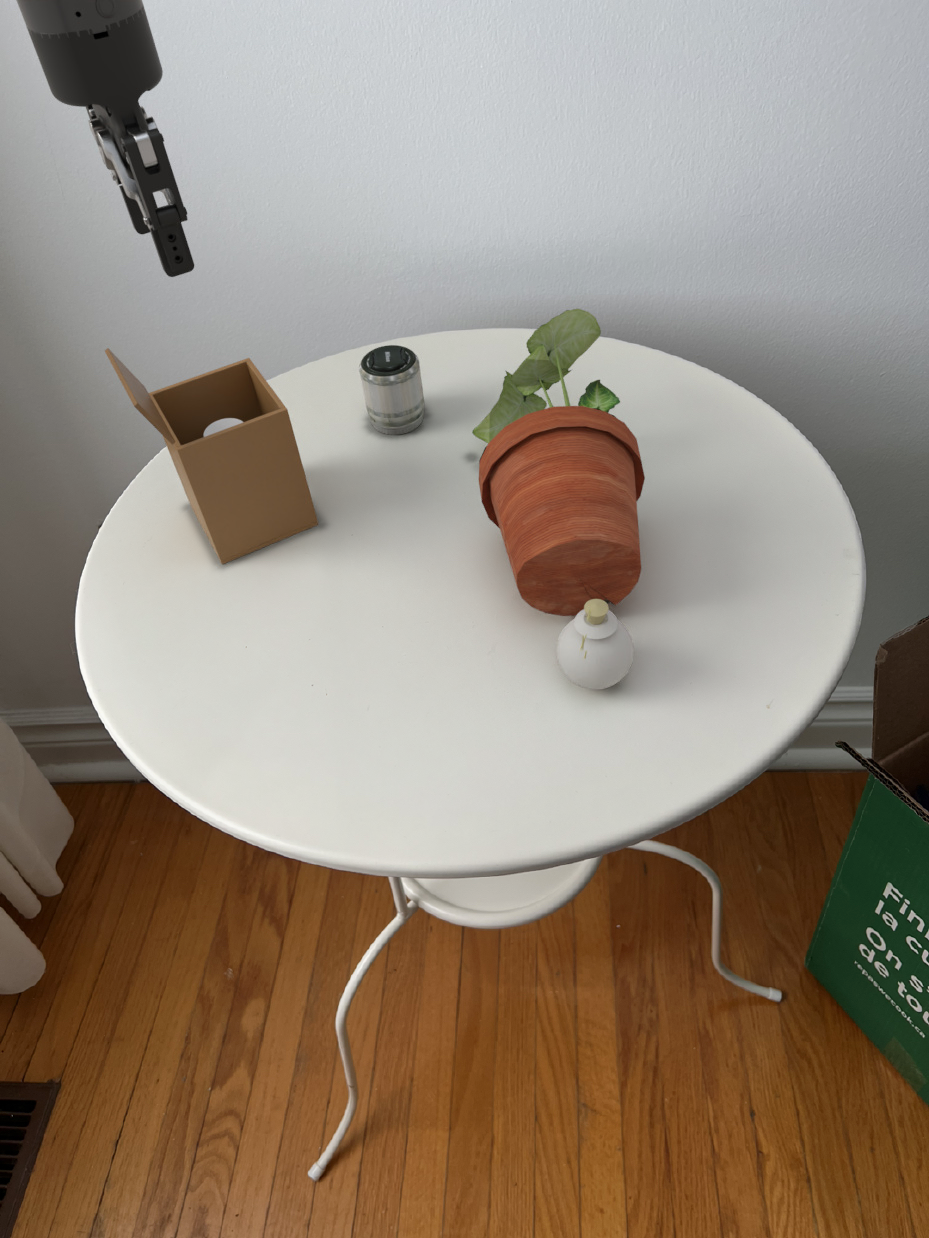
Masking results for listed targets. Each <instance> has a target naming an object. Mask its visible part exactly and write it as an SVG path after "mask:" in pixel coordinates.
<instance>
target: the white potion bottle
mask: <svg viewBox="0 0 929 1238" xmlns="http://www.w3.org/2000/svg"><path fill="white" fill-rule="evenodd" d="M555 652H556V660H557V663H558V666H559V668H560V670H561V672H562V673H563V675H564V676H565V677H566V678H567V679H568V681H570V682H572V684H574V685H576V686H578V687H581V688H584V689H587V690H604V689H608V688H610V687H612V686H615V684H618V683H619V682H620V681H622V680H623V679H624V678H625V677H626V676H627V674H628V672H629V671H630V669H631V667H632V665H633V662H634V656H635V647H634V642H633V637H632V635H631V633H630V632H629V630H628V629H627V627H626V626H625V625H624V624H623V623H622V622H621V621H620V620H619V619H618V617H617V616H616V615H615V613H613V611H612V610H610V608H609V604H607V603H606V602H605V601H603V600H601V599H591V600H589V601H587V602H586V604H585V605H584V609H583V610H582V611H580V612H579V613H578V614H577V615H576V616H575V617H574V618H573V619H571V620H570V621H569V622H568V623H567V624H566V625H565V626H564V627H563V628H562V630H561V632H560V633H559V635H558V638H557V642H556V650H555Z"/></svg>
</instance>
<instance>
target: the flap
mask: <svg viewBox="0 0 929 1238" xmlns="http://www.w3.org/2000/svg"><path fill="white" fill-rule="evenodd" d="M104 352H105V355H106V357H107V358H108V360H109V362H110V364H111V365H112V368H113V369H114V371H115V373H116V375H117V377H118V379H119V381H120V383H121V385H122V386H123V389H124V390H125V392H126V394H127V396H128V398H129V400H130V401H131V403H132V405H133V407H134V408H135V409H136V410H137V411H138V412H139V413H140V414H141V415H142V416H143V417H144V418H145V420H146V421H148V422H149V424H151V426H153V428H155V429H156V430H157V431H158V432H159V433H160V434H161V436H162V435H163V436H164V437H165V438H166V439H167V440H168V441H169V442H170V443H171V444H172V445H173V444H174V443H175V440H174V438H173V436H172V434H171V433H170V431H169V429H168V427H167V426H166V424H165V422H164V420H163V418H162V417H161V415H160V413H159V411H158V409H157V408H156V406H155V404H154V402H153V401H152V399H151V397H150V395H149V393H150V392H149V391H148V390H147V388H146V386H145V385H144V383H142V382H141V381H140V380H139V379H138V378H137V377H136V376H135V375H134V374H133V372H131V370H130V369H129V368H128V367H127V366H126V365H125V364H124V363H123V362H122V361H121V360H120V358H118V356H116V354H115V353H114V352H113V351H112V350H110V348H109V347H107V348H106V349H105V350H104ZM163 436H162V437H163Z"/></svg>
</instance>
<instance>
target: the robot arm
mask: <svg viewBox="0 0 929 1238" xmlns="http://www.w3.org/2000/svg"><path fill="white" fill-rule="evenodd" d="M16 3H17V5H18V8H19V10H20V13H21V16H22V18H23V21H24V23H25V26H26V29H27V32H28V34H29V37H30V40H31V43H32V46H33V48H34V51H35V54H36V56H37V57H38V61H39V64H40V66H41V69H42V71H43V75H44V76H45V79H46V81H47V84H48V87H49V89H50V92H51V94H52V96H53V97H54V99H56V100H57V101H58V102H60V103H61V104H64V105H67V106H71V107H79V108H83V107H84V108H85V109H86V113H87V115H88V118H89V120H87V121H88V125H89V130H90V132H91V135H92V136H93V139H94V141H95V143H96V145H97V147H98V151H99V154H100V156H101V159H102V161H103V164H104V165H105V168H106V169H107V170H109V171H110V172H111V173H110V176H111V179H112V181H113V182H115V184H116V185H117V186H119V190H120V193H121V196H122V199H123V201H124V204H125V206H126V209H127V212H128V215H129V218H130V221H131V224H132V226H133V229H134V230H135V232H136V233H137V234H139V235H145V234H150V236H151V238H152V241H153V244H154V246H155V247H154V248H155V250H156V252H157V255H158V258H159V261H160V264H161V268H162V270H163V271H164V273H165V274H166V275H167V276H168V277H169V278H175V277H177V276H182V275H185V274H187V273H190V272H192V271H193V270H194V269H195V262H194V258H193V255H192V253H191V249H190V246H189V243H188V240H187V237H186V233H185V230H184V228H183V222H187V221H188V220H189V219H188V211H187V208H186V206H185V205H184V203H183V200H182V196H181V193H180V190H179V186H178V184H177V181H176V178H175V174H174V171H173V169H172V165H171V162H170V159H169V156H168V153H167V149H166V146H165V143H164V142H165V138H164V135H163V134H162V133H161V132H160V130H159V128H158V126H157V124H156V121H155V119H154V117H153V116H148V114H147V111H146V110H145V108H144V106H142V105H140V102H139V100H140V98H141V97H142V96H143V94H145V93H146V92H150V91H152V90H153V89H155V88H156V87H157V86H158V85H159V84H160V83H161V81H162V78H163V75H164V74H163V73H164V72H163V67H162V64H161V60H160V56H159V53H158V50H157V47H156V43H155V39H154V36H153V33H152V30H151V26H150V23H149V20H148V15H147V12H146V9H145V6H144V2H143V0H16ZM157 192H161V193H162V194H163V195H164V198H165V200H166V202H167V204H166V205H162V206H158V205H157V201H156V198H155V195H154V193H157Z"/></svg>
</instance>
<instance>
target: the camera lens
mask: <svg viewBox="0 0 929 1238" xmlns="http://www.w3.org/2000/svg"><path fill="white" fill-rule="evenodd" d="M358 372H359V377H360V381H361V386H362V392H363V396H364V401H365V407H366V411H367V414H368V417H369V418H368V419H369V421H370V424H371V426H372V427H374V429H375V430H376V431H378V432H379V433H381V434H385V435H390V436H392V435H393V436H395V435H396V436H398V435H403V434H407V433H410V432H412V431H414V430H416V429H417V428H419V426H420V425H421V424H422V422H423V420H424V413H425V396H424V388H423V380H422V374H421V366H420V359H419V357H418V355H417V354H416V353H415V352H414V351H413V350H412V349H410V348H408V347H406V346H402V345H396V344H389V345H381V346H378V347H376V348H374V349H371V350H370V351H368V352H367V353H366V354H365V355H364V356H363V357H362V359H361V361H360V363H359V366H358Z"/></svg>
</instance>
